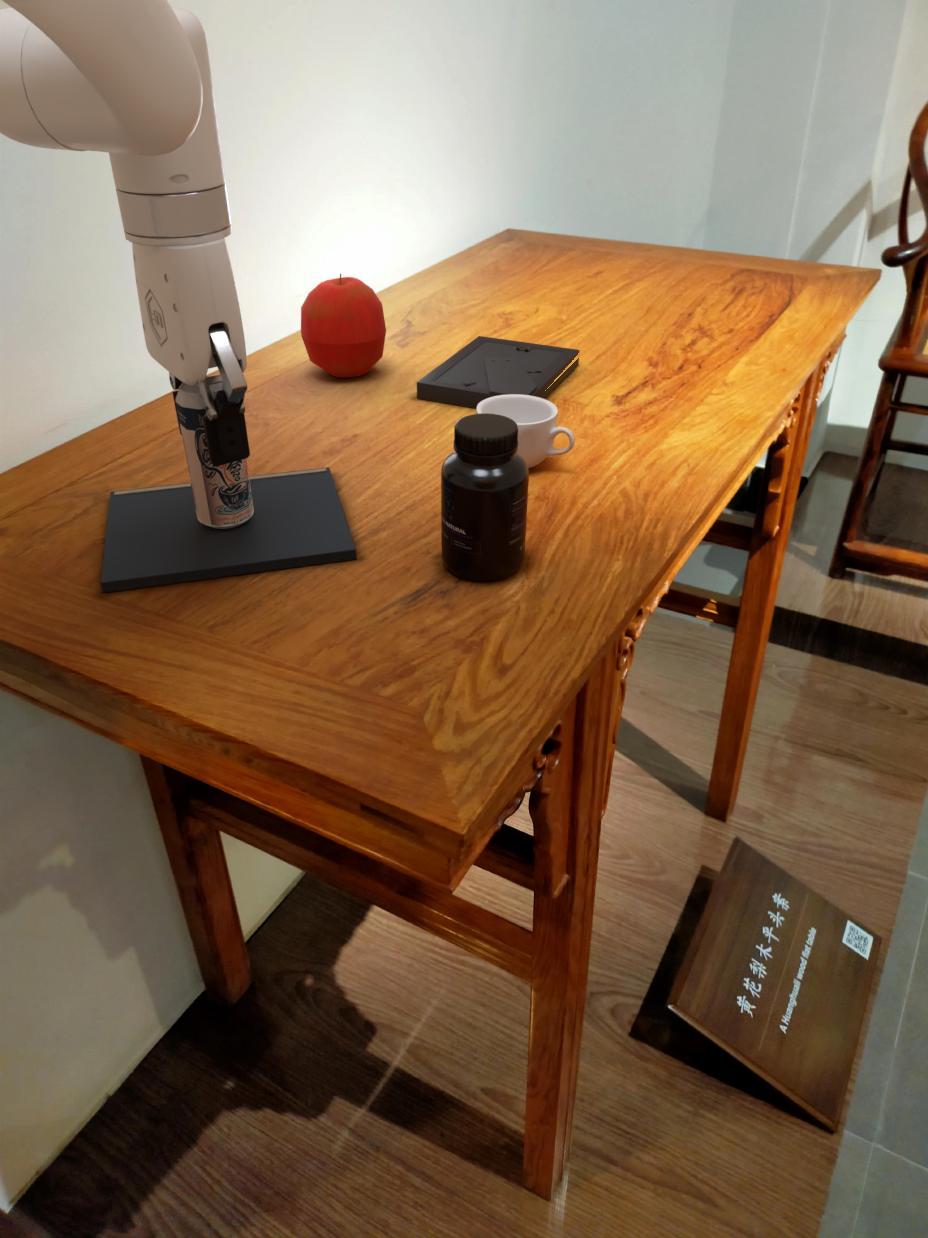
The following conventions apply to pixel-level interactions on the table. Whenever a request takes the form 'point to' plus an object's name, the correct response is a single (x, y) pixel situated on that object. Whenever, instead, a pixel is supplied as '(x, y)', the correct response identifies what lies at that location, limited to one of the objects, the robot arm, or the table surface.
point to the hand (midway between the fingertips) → (214, 445)
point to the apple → (343, 327)
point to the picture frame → (496, 371)
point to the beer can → (211, 467)
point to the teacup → (530, 424)
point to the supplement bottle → (484, 499)
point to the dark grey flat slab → (223, 532)
